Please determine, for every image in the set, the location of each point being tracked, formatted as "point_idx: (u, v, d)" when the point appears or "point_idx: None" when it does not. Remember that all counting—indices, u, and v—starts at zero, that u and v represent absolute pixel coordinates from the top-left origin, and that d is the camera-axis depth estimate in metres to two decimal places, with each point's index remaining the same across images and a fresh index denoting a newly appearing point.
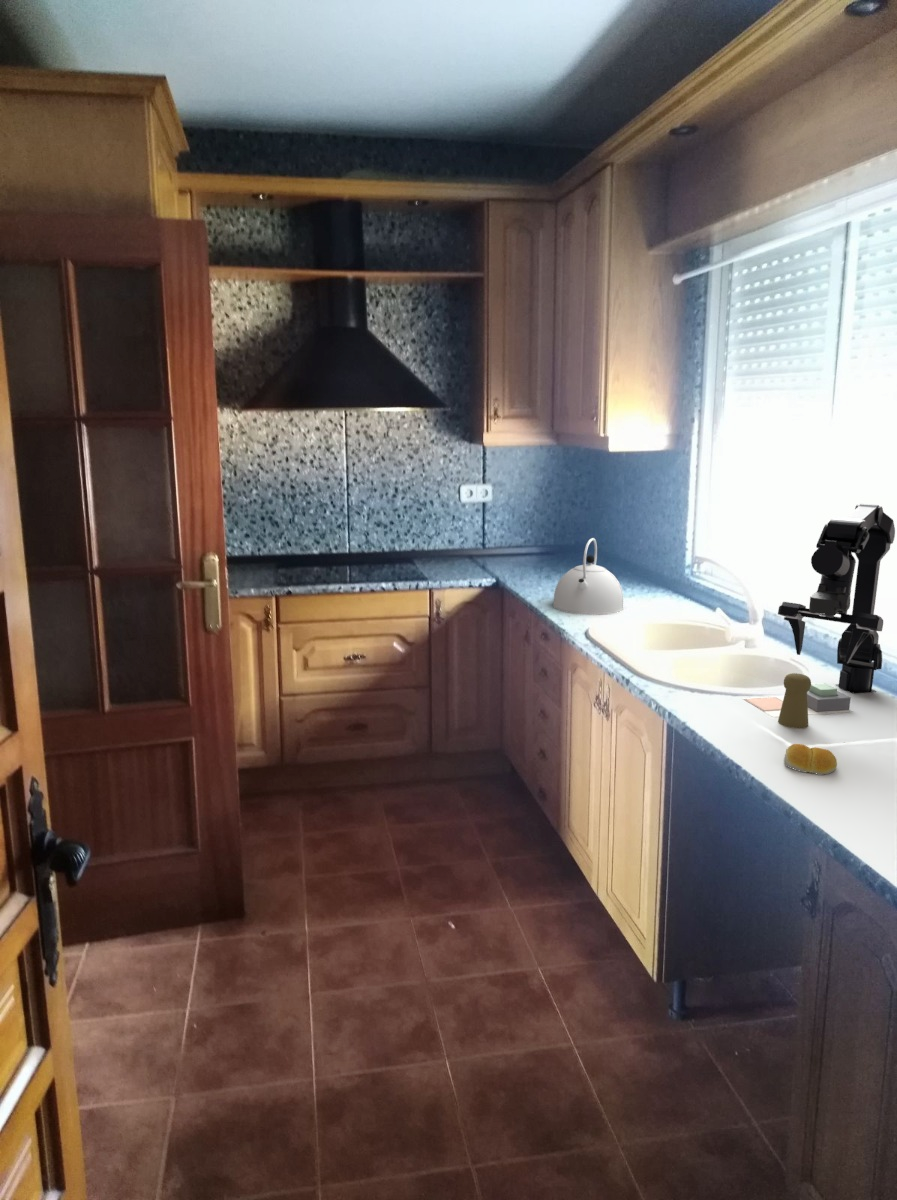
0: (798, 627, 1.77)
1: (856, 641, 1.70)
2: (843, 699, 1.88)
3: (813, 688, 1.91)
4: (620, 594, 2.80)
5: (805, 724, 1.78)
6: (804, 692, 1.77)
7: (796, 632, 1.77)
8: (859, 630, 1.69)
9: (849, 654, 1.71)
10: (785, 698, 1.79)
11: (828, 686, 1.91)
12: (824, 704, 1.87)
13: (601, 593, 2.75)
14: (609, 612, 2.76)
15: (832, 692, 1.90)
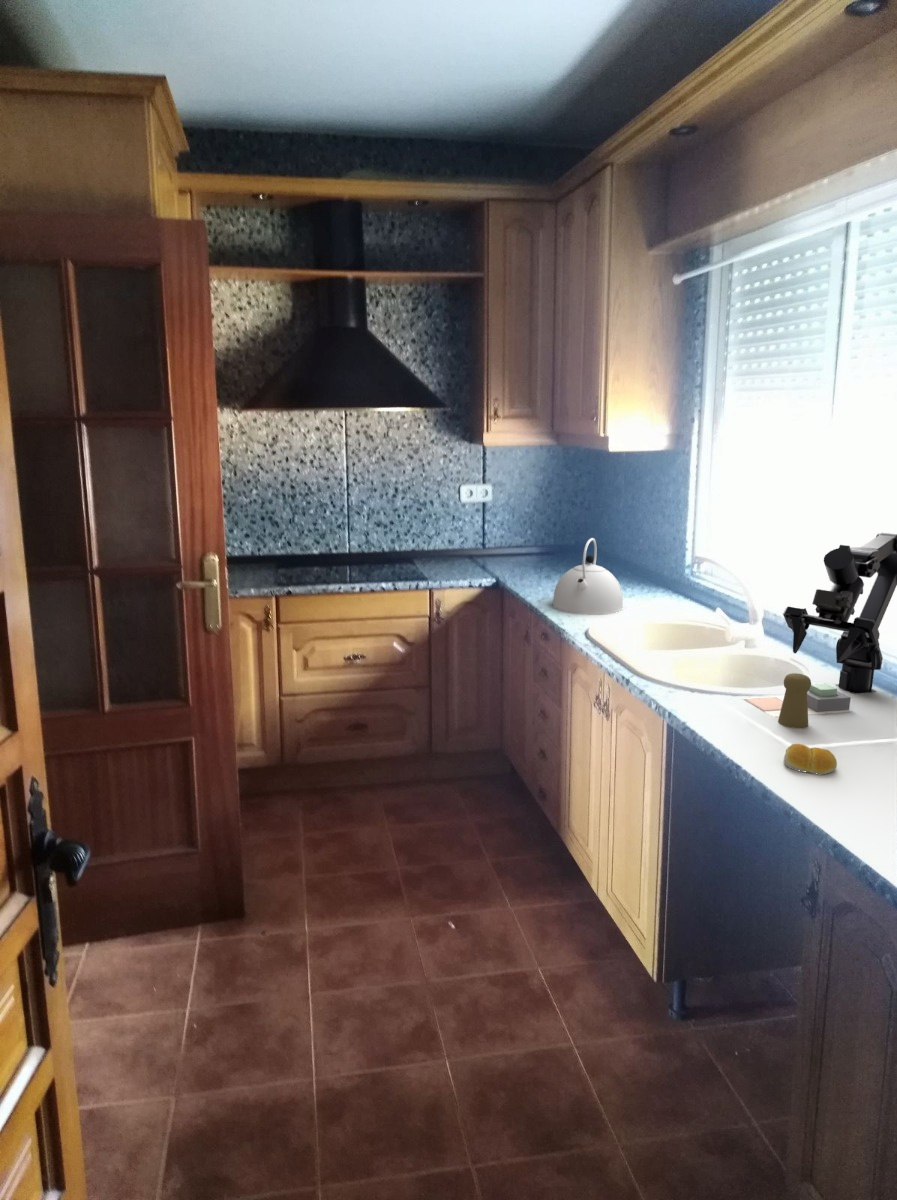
0: (799, 627, 1.88)
1: (850, 641, 1.80)
2: (843, 699, 1.88)
3: (813, 688, 1.91)
4: (619, 594, 2.80)
5: (805, 724, 1.78)
6: (804, 692, 1.77)
7: (796, 632, 1.88)
8: (855, 629, 1.79)
9: (842, 652, 1.80)
10: (785, 698, 1.79)
11: (828, 686, 1.91)
12: (824, 704, 1.87)
13: (601, 593, 2.75)
14: (608, 612, 2.77)
15: (832, 692, 1.90)
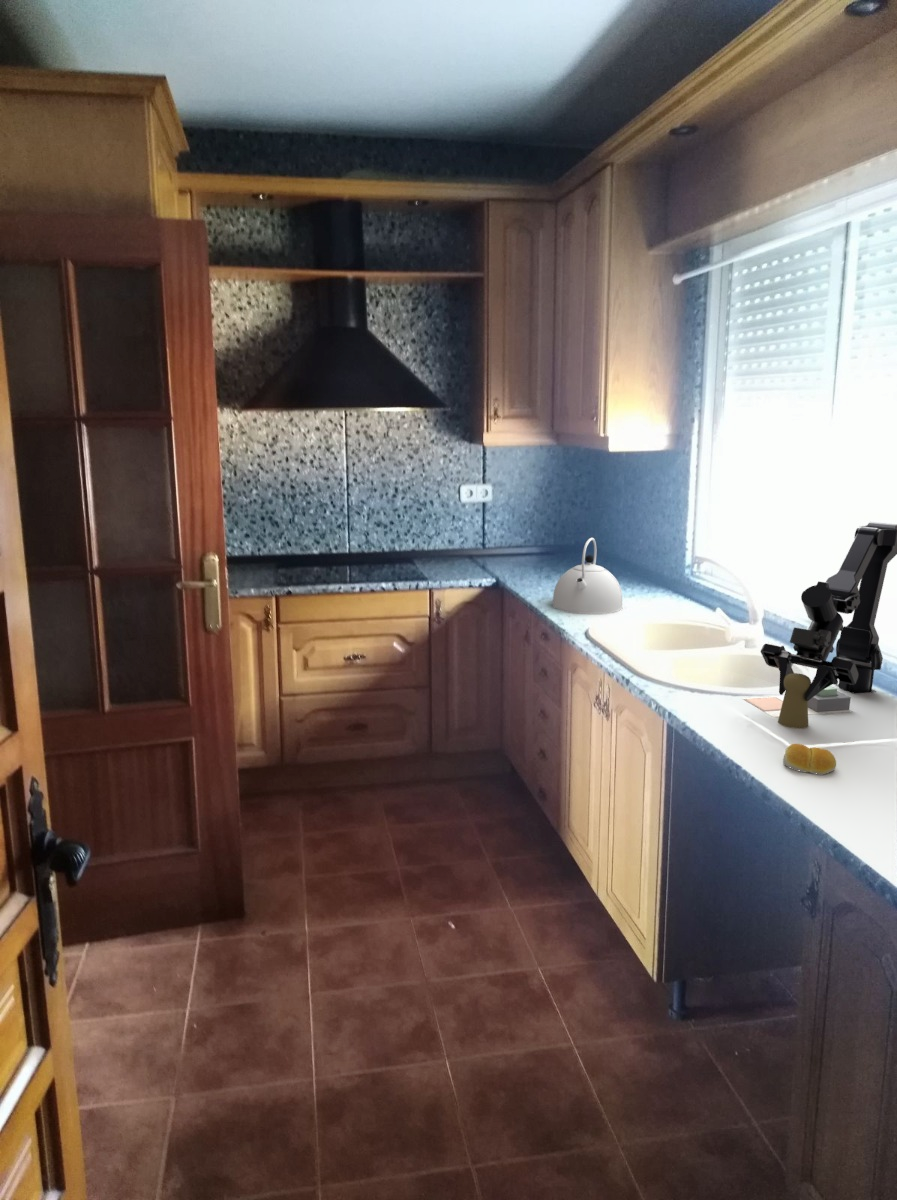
0: (786, 667, 1.81)
1: (819, 679, 1.76)
2: (843, 699, 1.88)
3: None
4: (619, 594, 2.80)
5: (805, 724, 1.78)
6: (804, 692, 1.77)
7: (783, 672, 1.81)
8: (823, 667, 1.76)
9: (810, 691, 1.76)
10: (785, 698, 1.79)
11: None
12: (824, 704, 1.87)
13: (600, 593, 2.76)
14: (608, 612, 2.77)
15: (832, 692, 1.90)
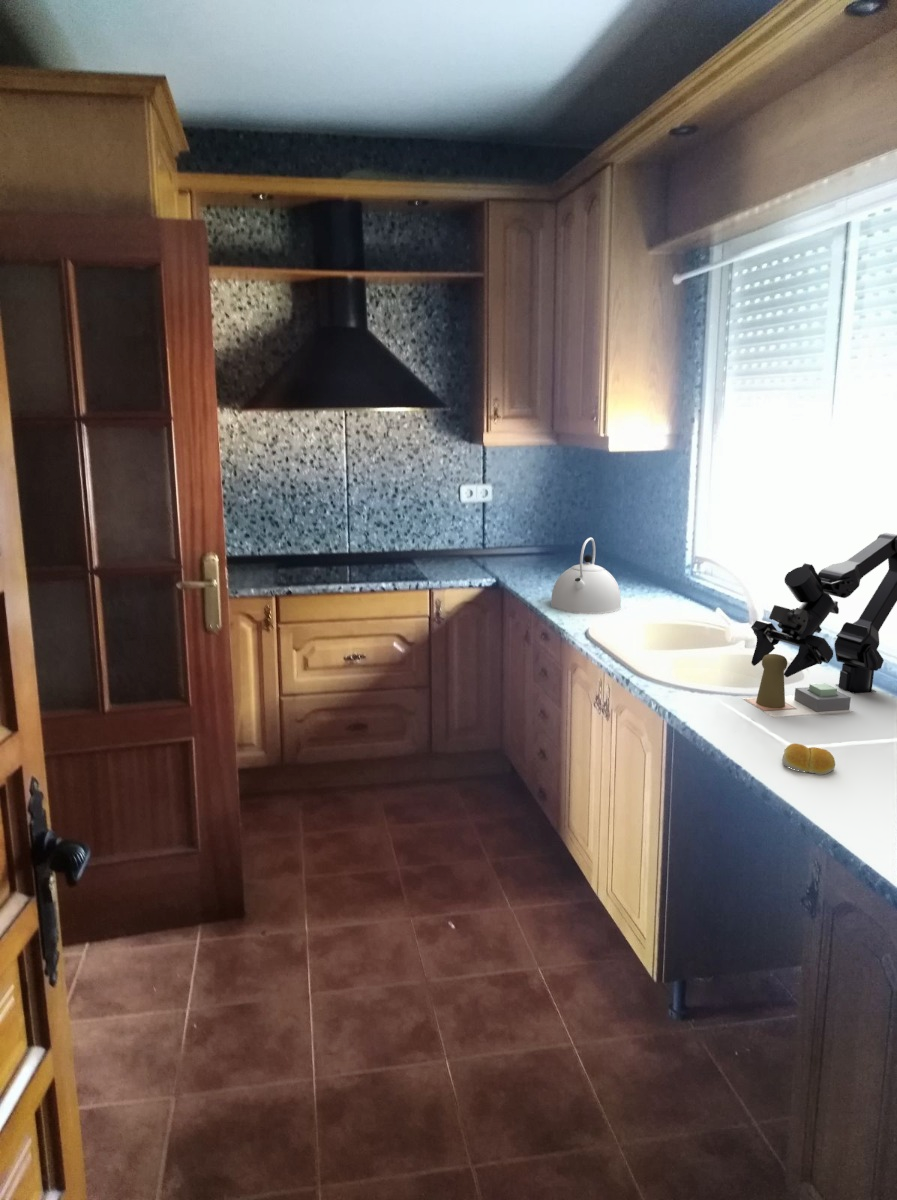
0: (761, 641, 1.94)
1: (799, 657, 1.85)
2: (843, 699, 1.88)
3: (813, 688, 1.91)
4: (617, 593, 2.81)
5: (779, 702, 1.89)
6: (778, 671, 1.88)
7: (758, 645, 1.94)
8: (804, 646, 1.84)
9: (789, 667, 1.85)
10: (762, 676, 1.91)
11: (828, 686, 1.91)
12: (824, 704, 1.87)
13: (598, 592, 2.76)
14: (606, 611, 2.77)
15: (832, 692, 1.90)
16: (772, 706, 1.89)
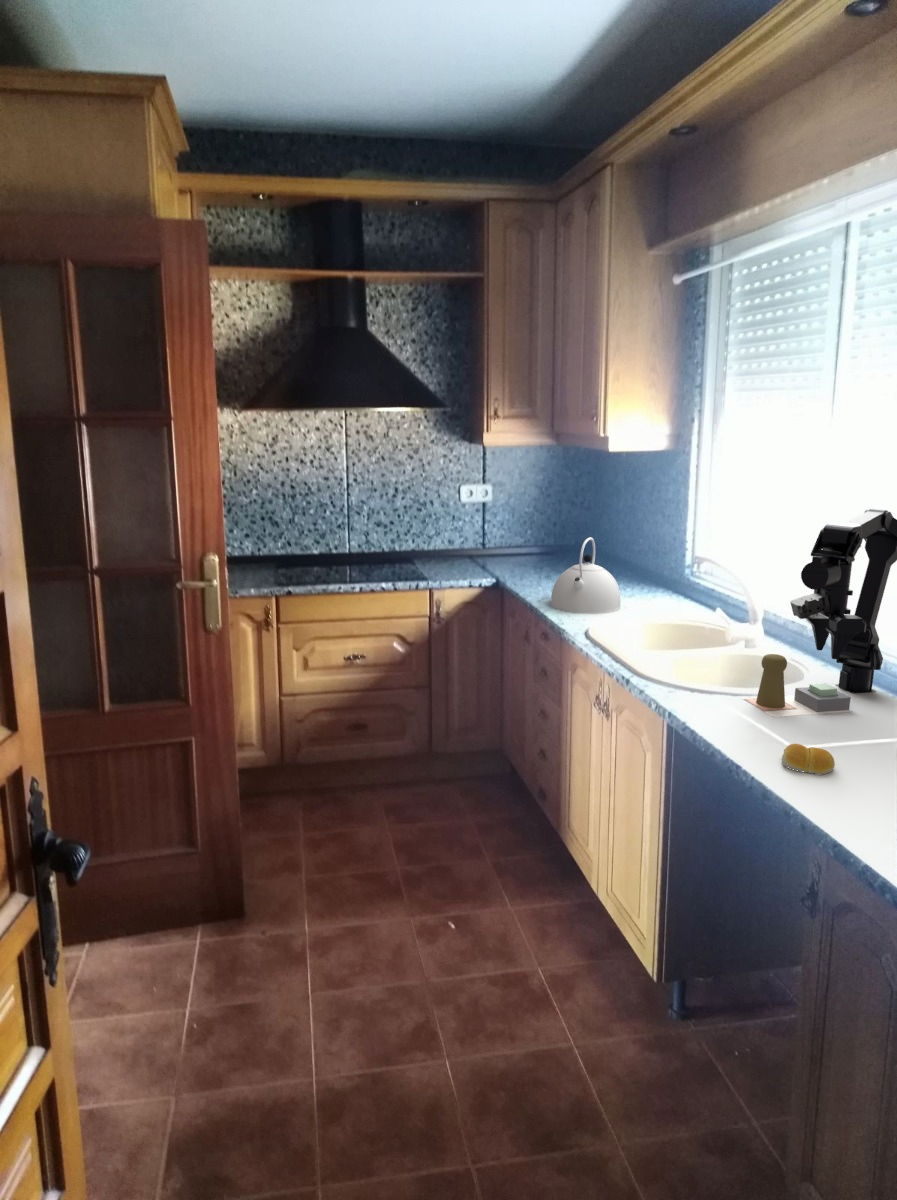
0: (813, 625, 1.92)
1: (833, 640, 1.84)
2: (843, 699, 1.88)
3: (813, 688, 1.91)
4: (617, 593, 2.81)
5: (779, 702, 1.89)
6: (778, 671, 1.88)
7: (814, 630, 1.93)
8: (828, 630, 1.83)
9: (832, 651, 1.85)
10: (762, 676, 1.91)
11: (828, 686, 1.91)
12: (824, 704, 1.87)
13: (597, 592, 2.76)
14: (605, 611, 2.78)
15: (832, 692, 1.90)
16: (772, 706, 1.89)
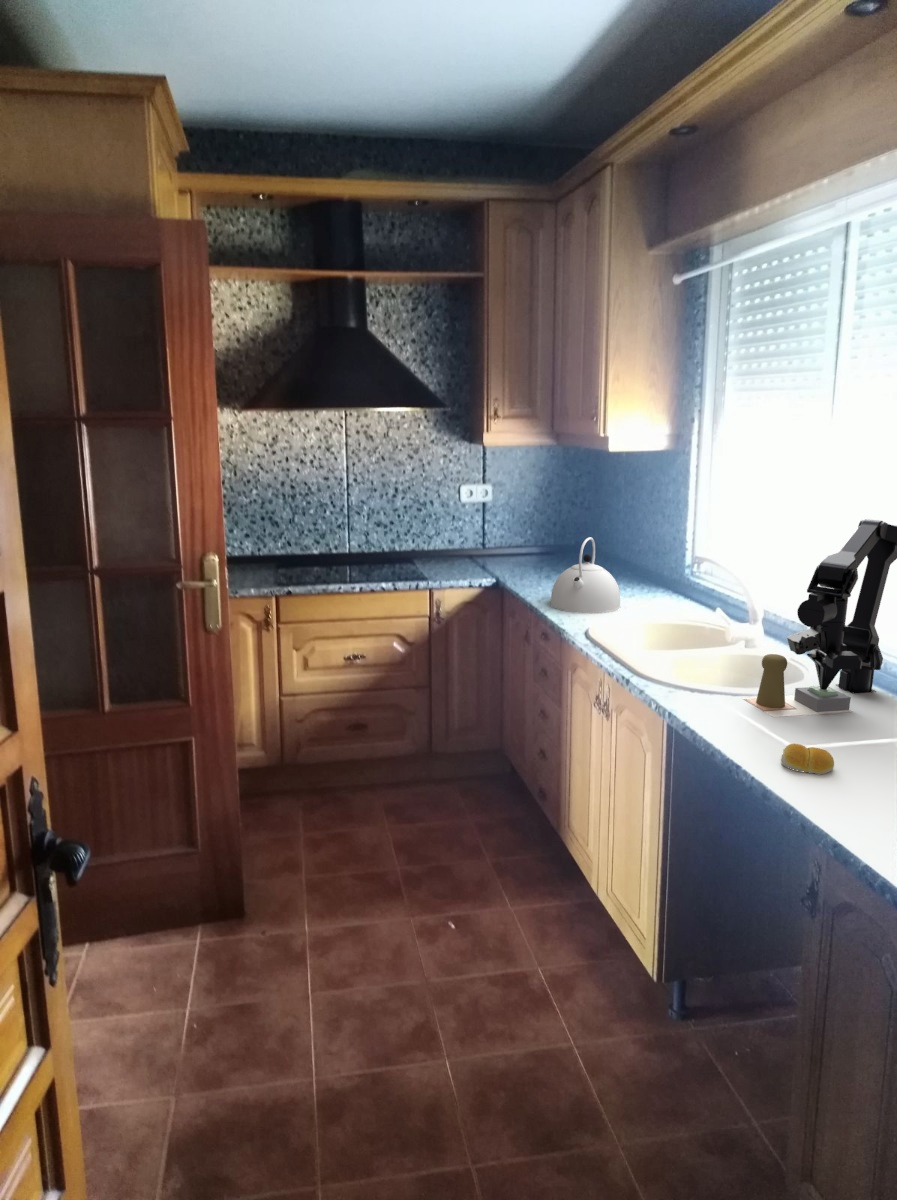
0: (817, 664, 1.91)
1: (822, 671, 1.89)
2: (843, 699, 1.88)
3: (813, 690, 1.91)
4: (616, 593, 2.81)
5: (779, 702, 1.89)
6: (778, 672, 1.88)
7: (817, 668, 1.91)
8: (818, 662, 1.88)
9: (821, 682, 1.90)
10: (762, 676, 1.91)
11: (828, 688, 1.91)
12: (824, 704, 1.87)
13: (597, 592, 2.77)
14: (605, 611, 2.78)
15: (832, 694, 1.90)
16: (772, 706, 1.89)
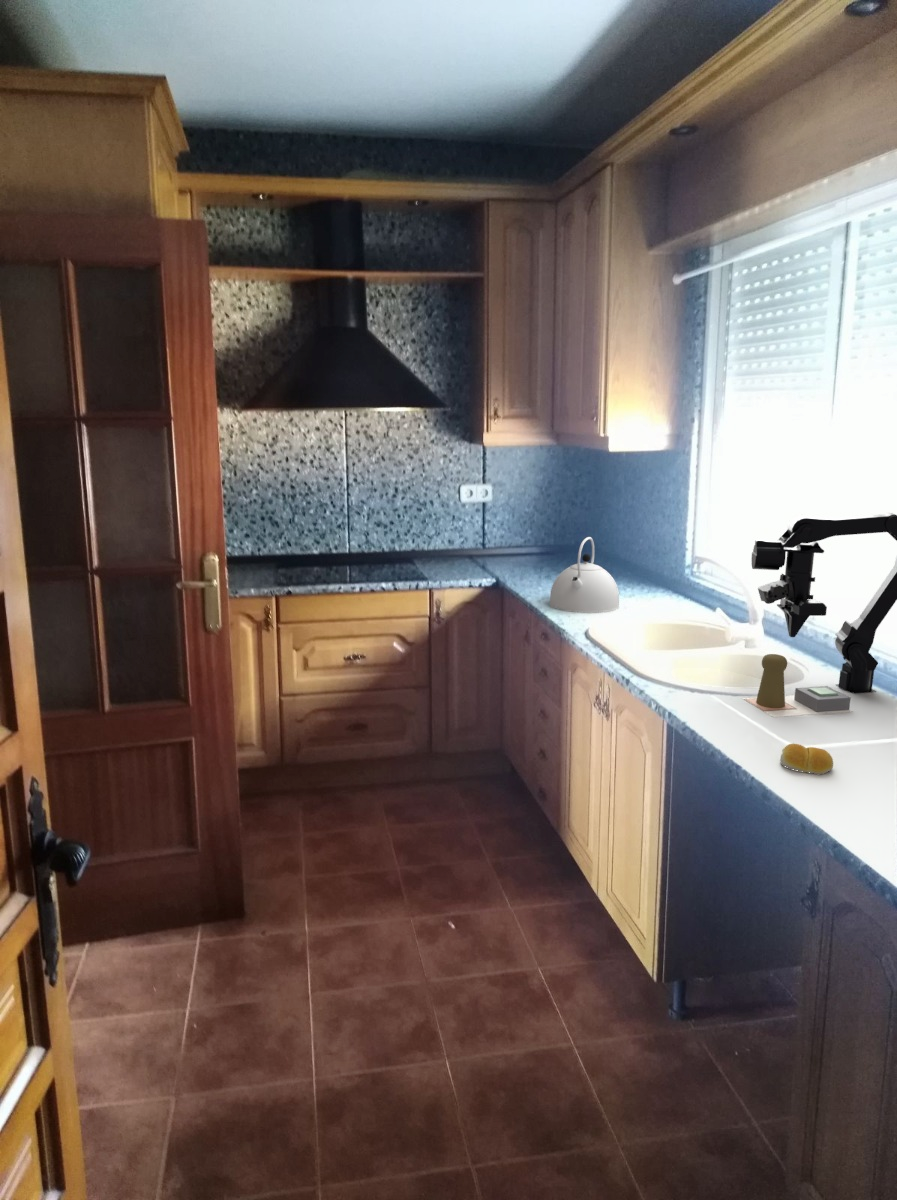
0: (786, 613, 2.04)
1: (791, 619, 2.02)
2: (843, 699, 1.88)
3: (813, 692, 1.92)
4: (615, 593, 2.82)
5: (779, 702, 1.89)
6: (778, 671, 1.88)
7: (786, 618, 2.04)
8: (786, 611, 2.01)
9: (790, 630, 2.03)
10: (762, 676, 1.91)
11: (828, 690, 1.92)
12: (824, 704, 1.87)
13: (595, 592, 2.77)
14: (603, 610, 2.78)
15: None
16: (772, 706, 1.89)
